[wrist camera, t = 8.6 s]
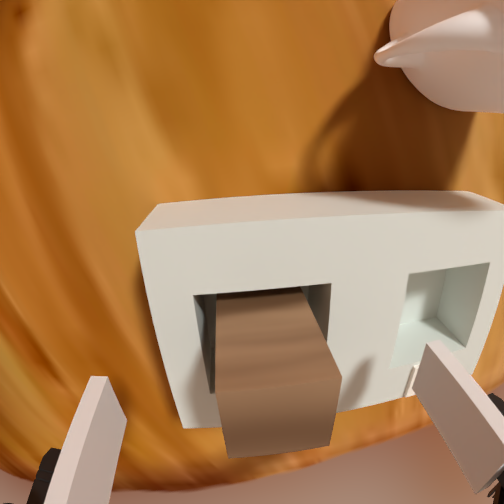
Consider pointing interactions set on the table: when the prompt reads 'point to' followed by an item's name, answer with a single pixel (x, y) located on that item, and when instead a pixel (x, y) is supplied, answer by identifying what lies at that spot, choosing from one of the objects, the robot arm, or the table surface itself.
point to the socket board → (327, 281)
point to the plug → (273, 373)
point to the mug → (450, 51)
